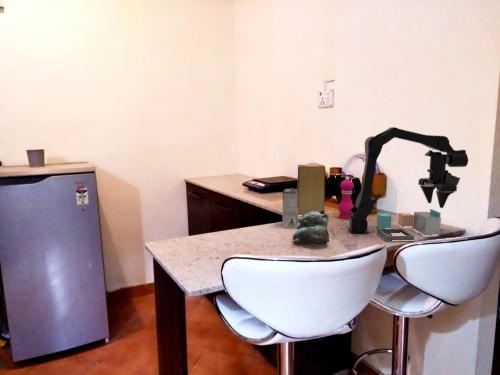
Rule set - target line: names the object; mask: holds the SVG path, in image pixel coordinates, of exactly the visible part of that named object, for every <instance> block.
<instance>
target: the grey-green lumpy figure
mask: <svg viewBox="0 0 500 375" xmlns="http://www.w3.org/2000/svg"><path fill="white" fill-rule="evenodd" d="M329 217H330V216H329V213H326V212H325V209H324V210H322V211H320V212H309V213H307V214H306V215H304V216H303V217H298V225H297V228H296V231H295V232H294V233H293V234H292V243H294V244H297V243H305V242H306V243H307V242H308V243H309V242H310V243H323V244H327V243H330V234H329V231H328V224H329Z"/></svg>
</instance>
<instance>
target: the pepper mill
mask: <svg viewBox="0 0 500 375" xmlns="http://www.w3.org/2000/svg"><path fill="white" fill-rule="evenodd" d="M353 188H354V183H353V181H351V180H350V177H349V176H347V177H345V180H342V181H341V183H340V189H341V194H342V198H341V201H340V203H339V205H338V211H339V215H338V218H339V219H342V220H350V216H352V215H351V214H350V211H349V210H350V209H352V208H353V207H354V206H355V205H354V204H353V201H352V194H353Z"/></svg>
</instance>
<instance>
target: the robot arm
mask: <svg viewBox="0 0 500 375" xmlns="http://www.w3.org/2000/svg"><path fill="white" fill-rule="evenodd" d="M394 139H399V140H404V141H408V142H412V143H416V144H420V145H422V146H425V147H427V148H429V150H428V151H427V152H426V153H425V154H424V156H425V157H430V158H429V169H427V170H426V171H427V173H428V174H429V175H428V177H422V178H419V179H418V183H417V184H418V186H419V187H420V189H421V190H422V192H423V195H424V197H425V200H426V201H427V202H426V203H427V204H432V200H433V195H434V191H435V189H436V191H435V194H436V197H437V202H438V205H439V206H438V207H439V208H440V209H443V208H444V207H445V204H446V203H447V200H448V198H449V196H451V195H452V194H454V193H455V192H457V191H458V190H457V189H458V185H459V182H460V180H461V177H458V176H456V175H453V174H452V172H449V170H447V169H446V167H447V166H448V167H449V168H465V167H467V166H468V163H469V158H468V154H467V149H458V150H455V149H454V148H453V147H452V145H451V144H450V139H449V137H447V136H445V135H431V134H423V133H418V132H415V131H410V130H405V129H402V128H398V127H395V126H392V127H388V128H387V129H386V130H383V131H381V132H380V133H378V134H376V135H375V136H368V137H367V138H365V141H364V154H365V162H364V168H363V175H362V180H361V181H362V182H361V188H360V192H359V193H358V195H357V197H356V200H355V204H354V205H353V206H354V207H353V208H352V209H350V210H349V211H350V214H351V215H352V216H350V219H349V224H348V225H349V226H348V228H347V230H348V231H349V232H350V234H357V235H358V234H368V227H369V225H368V223H369V222H368V220H367V218H368V217H369V215H370V214H372V212H373V210H375V202H376V198H374V197H373V196H372V190H373V184H374V177H375V172H376V166H377V160H378V158H379V156H380V154H381V153H382V149H383V147H384V146H385V144H388V143H389V142H390V141H392V140H394ZM443 153H444V154H443Z"/></svg>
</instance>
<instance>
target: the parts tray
mask: <svg viewBox="0 0 500 375" xmlns="http://www.w3.org/2000/svg"><path fill="white" fill-rule="evenodd" d="M400 232H401V233H403V234H404V235H406V236H392V234H391V233H400ZM377 234H378V235H377ZM376 235H377V236H379V235H380V236H381V237H382V238H381V237H380V236H379V237H380V238H381V239H383V238H384V239H385V240H387V241H392V240H414V241H415V235H413V234H412V233H410V232H408V231H407V230H406V229H402V228H391V229H379V228H377V229H376ZM384 239H383V240H384ZM385 240H384V241H385Z"/></svg>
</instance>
